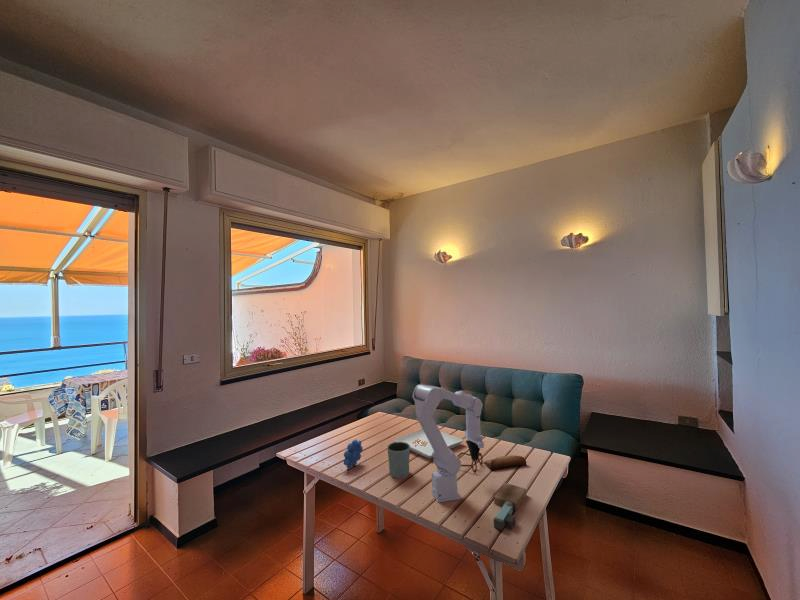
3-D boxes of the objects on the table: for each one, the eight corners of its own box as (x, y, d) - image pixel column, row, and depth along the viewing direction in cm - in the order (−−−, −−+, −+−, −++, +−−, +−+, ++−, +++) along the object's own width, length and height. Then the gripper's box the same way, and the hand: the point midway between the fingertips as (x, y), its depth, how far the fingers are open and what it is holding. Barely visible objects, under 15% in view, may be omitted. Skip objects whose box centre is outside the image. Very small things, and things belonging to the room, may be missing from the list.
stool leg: (506, 507, 113) (506, 500, 113) (514, 510, 112) (513, 502, 112) (494, 527, 103) (493, 518, 103) (502, 530, 102) (501, 521, 102)
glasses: (473, 474, 139) (473, 462, 139) (446, 467, 146) (445, 456, 146) (483, 462, 150) (482, 451, 150) (457, 456, 157) (456, 446, 157)
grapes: (355, 459, 156) (355, 434, 156) (366, 463, 152) (365, 437, 152) (337, 468, 146) (337, 442, 147) (347, 473, 142) (347, 445, 143)
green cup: (405, 466, 147) (405, 440, 147) (414, 476, 137) (413, 448, 138) (384, 471, 143) (384, 443, 144) (392, 481, 134) (391, 452, 134)
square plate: (392, 446, 171) (392, 439, 171) (427, 433, 189) (427, 426, 189) (429, 463, 151) (429, 454, 151) (464, 446, 169) (464, 438, 169)
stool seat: (530, 496, 120) (530, 489, 120) (511, 529, 102) (511, 521, 102) (505, 488, 126) (504, 482, 126) (482, 519, 108) (482, 511, 108)
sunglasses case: (516, 457, 153) (519, 448, 150) (524, 471, 147) (528, 461, 144) (481, 462, 149) (484, 453, 146) (488, 476, 143) (492, 467, 140)
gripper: (490, 430, 126) (491, 465, 125) (474, 419, 140) (476, 451, 140) (473, 432, 125) (475, 468, 124) (459, 420, 139) (460, 452, 138)
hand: (474, 459), depth 132 cm, fingers closed
